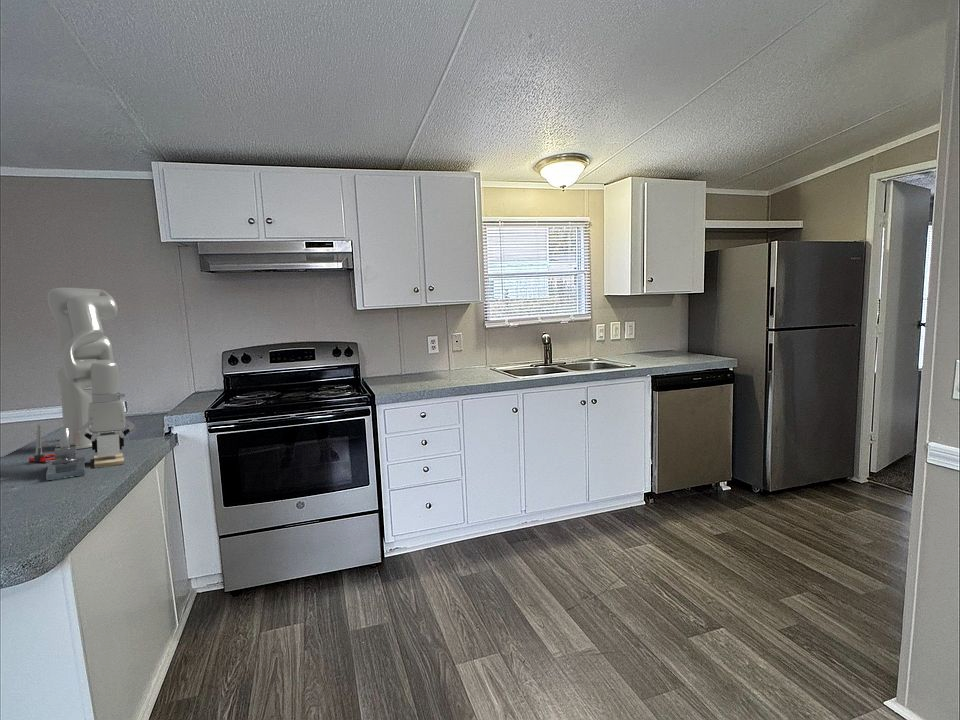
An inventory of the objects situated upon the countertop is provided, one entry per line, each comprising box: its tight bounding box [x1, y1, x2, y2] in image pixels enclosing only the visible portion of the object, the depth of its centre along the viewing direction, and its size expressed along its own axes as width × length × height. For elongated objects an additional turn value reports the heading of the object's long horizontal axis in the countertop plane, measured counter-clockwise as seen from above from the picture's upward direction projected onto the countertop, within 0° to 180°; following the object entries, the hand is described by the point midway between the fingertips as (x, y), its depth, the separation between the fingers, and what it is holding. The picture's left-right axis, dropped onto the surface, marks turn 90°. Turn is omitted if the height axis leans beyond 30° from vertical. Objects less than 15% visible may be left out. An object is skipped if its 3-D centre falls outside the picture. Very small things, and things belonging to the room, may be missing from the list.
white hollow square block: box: [96, 431, 121, 457], centre depth 170 cm, size 6×6×7 cm
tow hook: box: [28, 424, 55, 463], centre depth 173 cm, size 8×13×9 cm
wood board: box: [93, 451, 126, 469], centre depth 171 cm, size 14×8×1 cm, turn 38°
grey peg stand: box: [45, 427, 86, 482], centre depth 159 cm, size 18×9×14 cm, turn 38°
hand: (108, 449), depth 171 cm, fingers closed on white hollow square block, 6 cm apart
